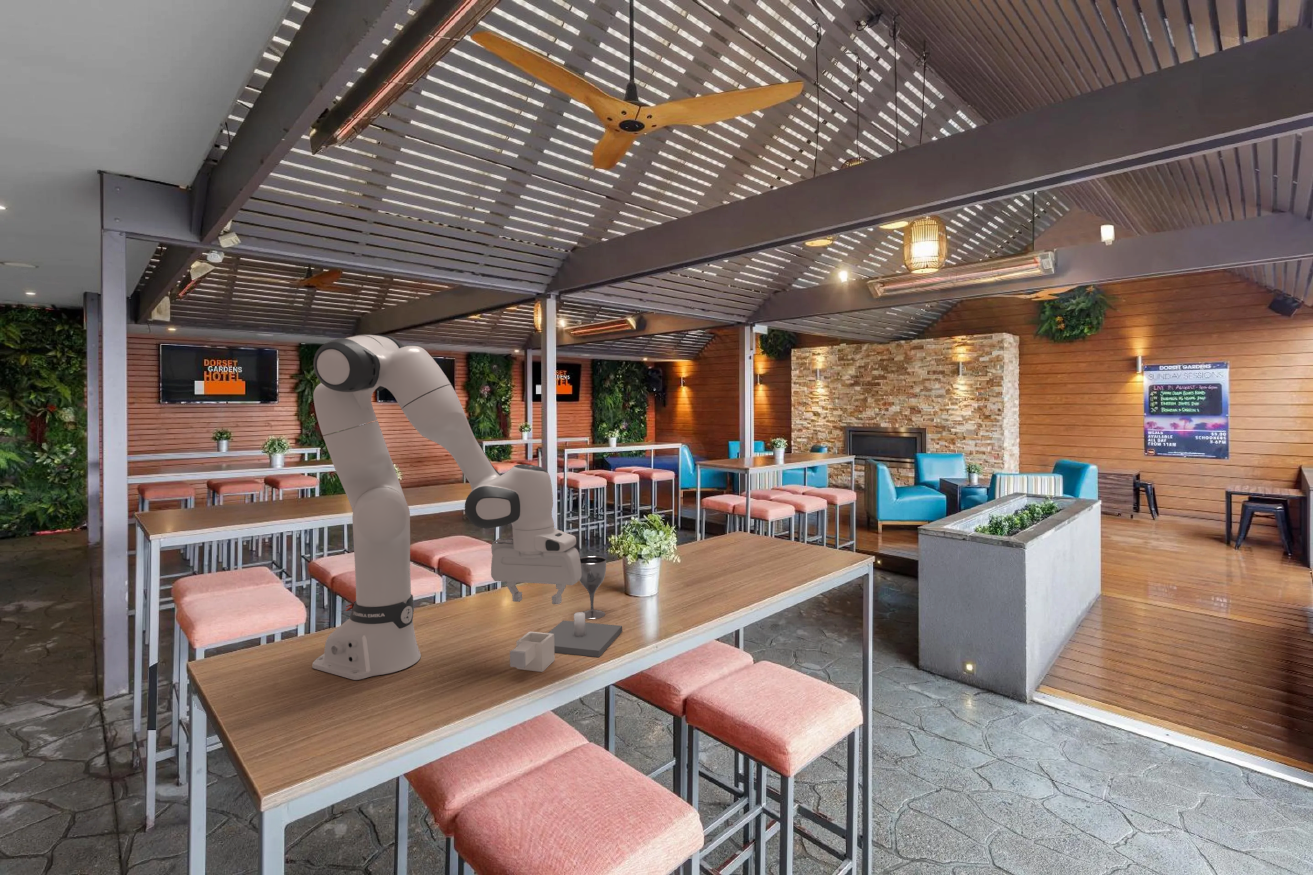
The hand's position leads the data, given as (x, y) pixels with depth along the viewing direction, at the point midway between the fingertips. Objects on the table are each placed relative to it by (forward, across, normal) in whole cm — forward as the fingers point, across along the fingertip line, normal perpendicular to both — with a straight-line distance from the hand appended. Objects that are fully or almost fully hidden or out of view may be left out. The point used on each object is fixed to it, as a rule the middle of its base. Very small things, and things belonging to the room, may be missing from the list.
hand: (537, 602), depth 131 cm
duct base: (+14, +3, +15) cm, 21 cm away
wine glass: (+14, -1, +33) cm, 36 cm away
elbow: (+14, -1, -3) cm, 14 cm away
